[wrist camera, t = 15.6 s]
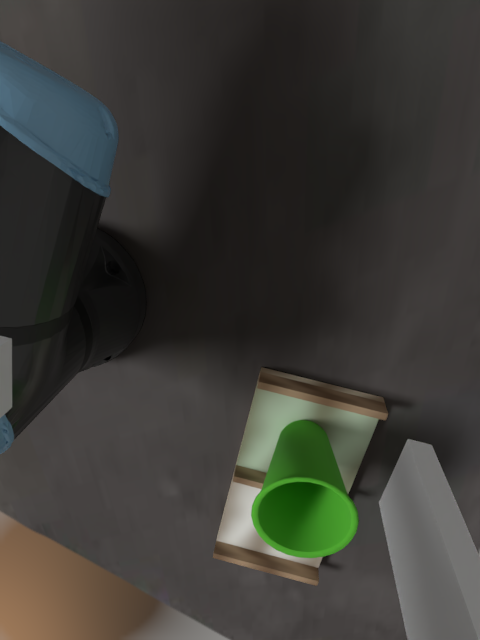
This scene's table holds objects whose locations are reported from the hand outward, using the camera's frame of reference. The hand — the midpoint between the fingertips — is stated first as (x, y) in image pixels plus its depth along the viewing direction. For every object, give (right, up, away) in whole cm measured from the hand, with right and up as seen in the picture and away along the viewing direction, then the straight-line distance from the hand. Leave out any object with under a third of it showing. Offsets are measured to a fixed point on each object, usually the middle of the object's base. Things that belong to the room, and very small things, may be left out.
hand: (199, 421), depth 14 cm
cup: (+8, -9, +33) cm, 35 cm away
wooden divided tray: (+7, -15, +36) cm, 40 cm away
